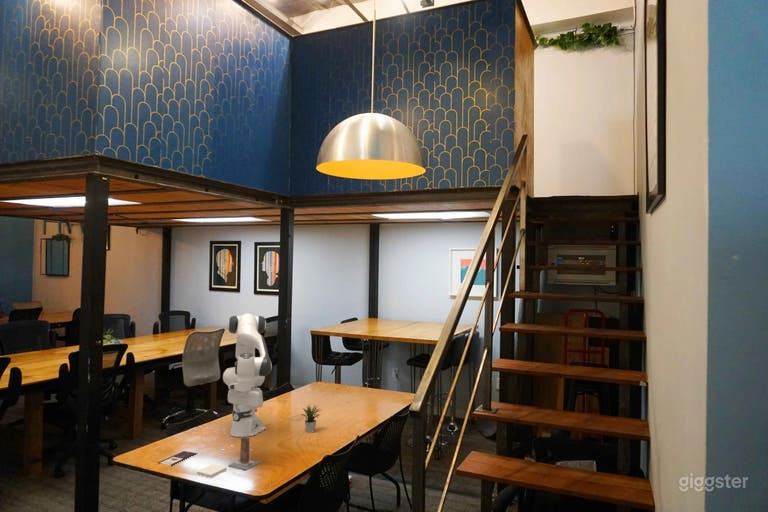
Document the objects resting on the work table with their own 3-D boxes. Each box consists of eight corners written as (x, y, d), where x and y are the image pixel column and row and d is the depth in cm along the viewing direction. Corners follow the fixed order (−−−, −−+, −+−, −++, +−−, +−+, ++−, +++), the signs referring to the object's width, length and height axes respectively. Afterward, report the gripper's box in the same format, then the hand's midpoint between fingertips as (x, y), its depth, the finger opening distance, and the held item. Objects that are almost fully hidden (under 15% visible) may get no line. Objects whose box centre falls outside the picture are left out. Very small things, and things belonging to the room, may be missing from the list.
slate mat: (243, 459, 251) (243, 458, 251) (260, 463, 247) (260, 462, 247) (228, 466, 241) (228, 465, 242) (245, 470, 237) (245, 469, 237)
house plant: (317, 436, 289) (317, 408, 290) (295, 434, 292) (296, 407, 293) (325, 429, 303) (325, 402, 304) (303, 427, 306) (304, 401, 307)
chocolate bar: (197, 453, 258) (171, 465, 241) (197, 455, 258) (171, 467, 241) (183, 450, 261) (157, 462, 244) (183, 452, 261) (157, 464, 244)
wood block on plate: (242, 460, 248) (243, 434, 249) (254, 463, 245) (255, 437, 246) (234, 464, 243) (234, 438, 244) (246, 467, 240) (247, 440, 240)
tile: (212, 464, 240) (196, 471, 231) (226, 467, 236) (210, 474, 227) (212, 468, 240) (196, 475, 231) (226, 471, 236) (210, 479, 227)
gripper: (266, 387, 245) (265, 415, 244) (234, 382, 254) (234, 409, 253) (257, 389, 239) (257, 418, 239) (226, 385, 248) (225, 412, 248)
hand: (245, 413), depth 246 cm, fingers open, 8 cm apart
